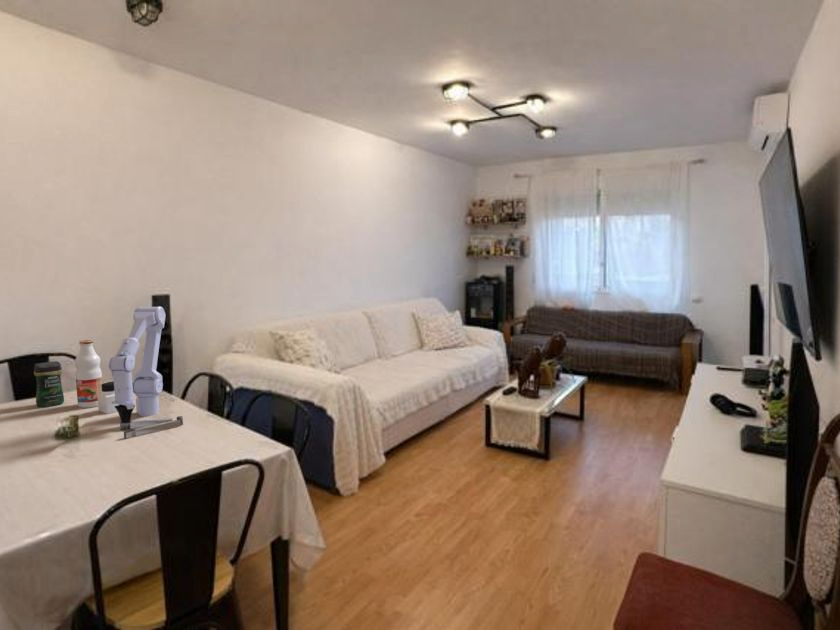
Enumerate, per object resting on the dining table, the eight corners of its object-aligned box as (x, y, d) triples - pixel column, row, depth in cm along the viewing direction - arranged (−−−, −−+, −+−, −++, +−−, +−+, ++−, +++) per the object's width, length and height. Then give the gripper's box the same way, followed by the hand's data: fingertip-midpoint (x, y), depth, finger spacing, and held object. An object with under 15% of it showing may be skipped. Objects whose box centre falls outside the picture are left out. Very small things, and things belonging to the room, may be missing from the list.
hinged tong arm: (173, 424, 185) (172, 418, 185) (172, 425, 184) (172, 419, 183) (121, 428, 180) (121, 422, 180) (120, 430, 179) (120, 423, 179)
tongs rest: (108, 434, 179) (107, 422, 178) (172, 420, 194) (172, 409, 194) (123, 447, 166) (122, 435, 166) (191, 431, 182) (190, 419, 181)
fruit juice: (109, 403, 217) (104, 339, 213) (87, 409, 208) (82, 343, 205) (94, 400, 220) (89, 338, 217) (72, 406, 211) (67, 341, 208)
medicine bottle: (125, 409, 208) (123, 381, 206) (107, 414, 202) (104, 385, 200) (116, 406, 211) (114, 379, 210) (98, 411, 205) (96, 382, 204)
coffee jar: (39, 409, 208) (35, 365, 206) (34, 405, 213) (30, 362, 211) (67, 403, 216) (63, 361, 213) (61, 400, 221) (57, 359, 218)
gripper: (105, 386, 184) (107, 421, 185) (116, 393, 174) (119, 431, 175) (126, 382, 189) (129, 417, 190) (139, 390, 179) (141, 426, 180)
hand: (125, 424), depth 183 cm, fingers closed
